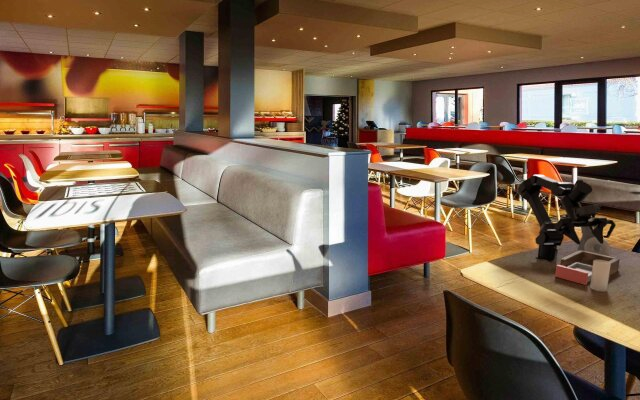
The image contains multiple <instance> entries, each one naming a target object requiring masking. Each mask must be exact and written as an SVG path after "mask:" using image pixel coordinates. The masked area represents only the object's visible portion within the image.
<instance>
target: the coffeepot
mask: <svg viewBox="0 0 640 400" xmlns="http://www.w3.org/2000/svg"><path fill="white" fill-rule="evenodd" d="M591 217H592V218H591V219H588V221H593V220H594V219H595V218H596V215H595V214H594V215H592V216H591ZM607 220H608V222H609V223H608V224H607V225H610V226H609V228H608V229H609V230H608V231H607V232H606V235H603V239H609V238H610V236H611V235H612V233H613V231H614V229H615V228H616V225H617V223H616V222H615V221H614V220H613V219H607ZM580 229H581V231H580V232H581V234H582V235H581V238H580V239H579V240H580V244H579V245H578V247H577V251H579V250H583V251H585V248H584V246H585V243H586V242H587V240H588V239H590V238H593V237H595V236H594V235H593V234H592V232H591V231H592V230H591V229H590V228H589V227H580ZM593 249H594V251H595V252H601V250H602V249H601V247H600V246H599V245H594V247H593ZM577 251H576V252H577Z"/></svg>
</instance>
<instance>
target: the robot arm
mask: <svg viewBox="0 0 640 400" xmlns="http://www.w3.org/2000/svg"><path fill="white" fill-rule="evenodd" d="M543 188H544V189H546V190H549V191H550V193H551V194H552V195H553V196H555V197H557V198H561V199H560V200H559V202H558V207H563V210H564V211H565V213H566V214H565V217H561V218H559V220H558V221H557V222H553V221H552V219H551V217H550V216H549V213H548V211H547V210H546V208H545V205H544V204H543V202H542V199H541V198H540V194H541V190H542V189H543ZM517 190H518V193H519V195H520V197H521V198H522V199H524V200H525V201H527V202H528V205H529V206H530V208H531V210H532V211H531V212H533V214H534V216H535V218H536V221H537V222H538V225H539V232H538V235H537V237H535V244H536V245H538V251H537V256H535V258H536V259H539V260H542V261H543V260H544V261H547V262H554V261H555V260H557V259H558V253H559V249H558V246H559V247H561V246H562V243H563V240H564V237H565V236H566V237H567V238H569V240H571V241H573V242H574V243H575V244H576V245H578V246H579V244H580V240H581V239H580V238H579V236H578V234H577V232H576V230H575V228H581V227H589V228H590V229H591V230H592V231H591V232H592V234H593V235H594V236H595V237H596V239H597V240H598V241H599V242H600V243H601V244H602V243H603V239H604V237H603V236H604V228H605V227H606V226H608V225H609V224H608V223H609V222H608V220H609V219H608V217H603V216H602V217H600V216H598V217H596V215H598V213H600V212H601V207H600V205H599V204H598V203H596V204H595V203H594V204H591V205H584V206H582V205H581V202H584V200H586V198H588V196H590V194H591V193H592V192H593V187H592V185H590V184H588V183H587V182H585V181H584V180H583V179H577V180H576V181H575V183H573V182H570V181H569V182H568V181H558V180H556V179H553V178H550V177H548V176H546V175H544V174H532V175H530V177H529V178H527V179H525V180H523V181H522V182H521V183H520V184H518V186H517ZM594 214H595V219H594V220H593V221H588V219H591V218H592V215H594Z"/></svg>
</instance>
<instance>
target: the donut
mask: <svg viewBox="0 0 640 400" xmlns="http://www.w3.org/2000/svg"><path fill="white" fill-rule="evenodd" d="M594 245H599V246H600V248H601V252H595V251H594V249H593V247H594ZM584 248H585V251H588V252H592V253H597V254H601V255H605V256H610V255H611V252H612V247H611V245H610V243H609V242H608V240H606V238H603V243H602V244H601V243H600V242H599V241H598V240H597V239H596V237H593V238H590V239H588V240H587V242H586V243H585V246H584Z"/></svg>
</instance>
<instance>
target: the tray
mask: <svg viewBox="0 0 640 400" xmlns="http://www.w3.org/2000/svg"><path fill="white" fill-rule="evenodd" d="M592 268H593V266H592V265H588V264H584V263H578V262H575V263H573V264H571V265H569V266H567V267H565V266H561V265H560V264H556V267H555V273H554V277H556V278H559V279H563V280H567V281H570V282H573V283H576V284H577V283H578V284H582V285H584V286H586V285H588V283H589V282H591V276H592Z"/></svg>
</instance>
